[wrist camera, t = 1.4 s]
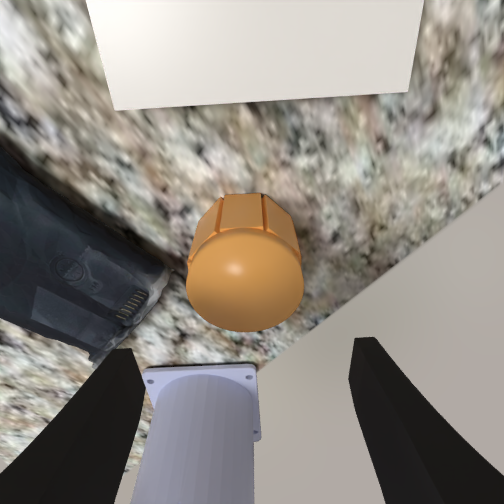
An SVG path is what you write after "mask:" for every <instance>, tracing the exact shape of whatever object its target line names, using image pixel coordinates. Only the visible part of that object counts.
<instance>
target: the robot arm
mask: <svg viewBox="0 0 504 504" xmlns="http://www.w3.org/2000/svg"><path fill="white" fill-rule="evenodd" d="M142 378H143V379H142ZM348 380H349V384H350V389H351V394H352V398H353V403H354V407H355V411H356V414H357V418H358V421H359V424H360V427H361V430H362V433H363V436H364V438H365V442H366V445H367V447H368V451H369V454H370V457H371V460H372V463H373V466H374V469H375V472H376V475H377V478H378V481H379V484H380V487H381V490H382V493H383V496H384V500H385V503H386V504H504V476H503V475H502V474H501V473H500V472H499V471H498V470H497V469H495V468H494V467H493V466H492V465H491V464H490V463H489V462H488V461H487V460H486V459H484V457H482V456H481V455H480V454H479V453H478V452H477V451H476V450H475V449H474V448H473V447H472V446H471V445H470V444H469V443H468V442H467V441H465V439H464V438H463V437H462V436H461V435H460V434H459V433H458V432H456V430H454V428H453V427H452V426H451V425H450V424H449V423H448V422H447V421H446V420H445V419H444V418H443V417H442V416H441V415H440V414H439V413H438V412H437V411H436V409H434V407H433V406H432V405H431V404H430V403H429V402H428V401H427V400H426V398H425V397H424V396H423V395H422V394H421V393H420V392H419V390H418V389H417V388H416V387H415V386H414V385H413V384H412V383H411V381H410V380H409V379H408V378H407V377H406V375H405V374H404V373H403V372H402V371H401V370H400V368H399V367H398V366H397V365H396V363H395V362H394V361H393V360H392V358H391V357H390V356H389V355H388V353H387V352H386V351H385V349H384V348H383V347H382V346H381V344H380V343H379V342H378V340H377V339H376V338H375V337H363V338H355V339H354V346H353V352H352V358H351V365H350V371H349V378H348ZM144 383H145V384H144ZM145 386H146V387H145ZM145 389H147V392H148V394H149V397H150V400H151V402H152V405H153V408H154V413H153V417H152V420H151V424H150V428H149V432H148V436H147V440H146V444H145V448H144V452H143V456H142V460H141V464H140V468H139V472H138V476H137V480H136V483H135V487H134V491H133V495H132V499H131V503H130V504H254V446H253V445H254V443H253V442H256V441H259V440H260V439H261V426H260V414H259V401H258V388H257V375H256V367H255V366H254V365H252V364H232V365H210V366H188V367H165V368H148V369H145V370H144V371H143V373H142V376H141V373H140V371H139V368H138V365H137V362H136V360H135V357H134V354H133V352H132V349H131V348H126V349H112V350H111V351H110V353H109V354H108V355H107V356H106V357H105V359H104V360H103V361H102V362H101V363H100V365H99V366H98V367H97V368H96V370H95V371H94V372H93V373H92V374H91V376H90V377H89V378H88V379H87V380H86V382H85V383H84V384H83V385H82V386H81V388H80V389H79V390H78V391H77V392H76V393H75V395H74V396H73V397H72V398H71V399H70V400H69V402H68V403H67V404H66V405H65V406H64V407H63V409H62V410H61V411H60V412H59V413H58V414H57V415H56V417H55V418H54V419H53V420H52V421H51V422H50V423H49V424H48V425H47V426H46V427H45V428H44V430H43V431H42V432H41V433H40V434H39V435H38V436H37V437H36V438H35V439H34V440H33V441H32V442H31V443H30V445H29V446H28V447H27V448H26V449H25V450H24V451H23V452H22V453H21V454H20V455H19V456H18V457H17V458H16V459H15V460H14V461H13V462H12V463H11V464H10V465H9V466H8V467H7V468H6V469H5V470H3V472H1V473H0V504H114V502H115V498H116V495H117V492H118V488H119V485H120V482H121V479H122V476H123V473H124V469H125V466H126V463H127V460H128V457H129V453H130V450H131V447H132V444H133V441H134V437H135V434H136V431H137V427H138V424H139V421H140V416H141V411H142V406H143V401H144V395H145Z"/></svg>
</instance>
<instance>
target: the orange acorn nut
mask: <svg viewBox="0 0 504 504" xmlns="http://www.w3.org/2000/svg"><path fill="white" fill-rule="evenodd" d="M187 265H188V270H189V272H188V276H187V281H186V290H187V295H188V299H189V301H190V303H191V305H192V307H193V308H194V310H195V311H196V312H197V313H198V314H199V315H200V316H201V317H202V318H203V319H205V320H206V321H208V322H209V323H211V324H213V325H215V326H217V327H219V328H222V329H226V330H229V331H235V332H256V331H261V330H265V329H269V328H271V327H274V326H276V325H278V324H280V323H282V322H283V321H284V320H286V319H287V318H288V317H290V316H291V315H292V314H293V313H294V311H295V310H296V309H297V307H298V306H299V304H300V302H301V300H302V297H303V293H304V280H303V275H302V271H301V253H300V249H299V245H298V240H297V236H296V232H295V228H294V224H293V220H292V219H291V216H290V215H289V214H288V213H287V212H285V211H284V210H283V209H282V208H281V207H279V206H278V205H277V204H276V203H275V202H274V201H272V200H271V199H270V198H269V197H268V196H266V195H264V196H263V197H262V198H261V193H252V194H234V195H225V196H224V200H223V199H222V198H221V197H220V198H219V199H218V200H217V201H216V202H215V204H214V205H213V206H212V207H211V208H210V209H209V210H208V211H207V212H206V214H205V215H204V216H203V217H202V218H201V219H200V220H199V222H198V225H197V229H196V232H195V236H194V240H193V243H192V247H191V250H190V254H189V258H188V261H187Z"/></svg>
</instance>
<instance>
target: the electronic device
mask: <svg viewBox="0 0 504 504" xmlns="http://www.w3.org/2000/svg"><path fill="white" fill-rule="evenodd" d="M172 271H174V269H171V268H169V267H168V266H166V265H164V264H163V263H162V262H161V261H160V260H159V259H157V258H155V257H154V256H152V255H150V254H149V253H147V252H146V251H144V250H142V249H141V248H139V247H138V246H136V245H135V244H133V243H132V242H130V241H129V240H127V239H126V238H124V237H123V236H121V235H120V234H118V233H117V232H116V231H114V230H113V229H111V228H109V227H108V226H106V225H105V224H104V223H102V222H101V221H99V220H97V219H96V218H95V217H93V216H92V215H91V214H90V213H88V212H87V211H85V210H83V209H82V208H80V207H78V206H76V205H74V204H72V203H71V202H70V201H69V200H68V199H67V198H65V197H64V196H62V195H61V194H59V193H57V192H56V191H54V190H53V189H51V188H50V187H48V186H45V185H44V184H43V183H41V182H40V181H39V180H38V179H36V178H35V177H34V176H32V175H31V174H29V173H27V172H26V171H25V170H23V169H22V168H21V166H20V165H19V164H18V162H17V161H16V160H14V159H13V158H12V157H11V156H10V155H9V154H8V153H7V152H6V151H5V150H4V149H3V148H2V147H1V146H0V318H1V319H3V320H6V321H8V322H11V323H13V324H16V325H18V326H20V327H23V328H25V329H28V330H31V331H33V332H35V333H38V334H40V335H42V336H44V337H46V338H50V339H55V340H58V341H61V342H63V343H66V344H68V345H72V346H76V347H78V348H80V349H83V350H85V351H87V352H89V354H90V356H89V358H88V359H89V361H91V362H93V366H92V367H93V368H94V369H96V368H97V367H98V366H99V365H100V363H101V362H102V361H103V360H104V359H105V357H106V356H107V355H108V354H109V353H110V351H111V350H112V349H116V348H117V347H118V346H119V345H120V343H121V342H122V341H123V340H124V339H125V338H126V337H127V336H128V335H129V334H130V333H131V332H132V331H133V329H134V328H135V327H136V326H137V325H138V324H139V323H140V322H141V321H142V319H143V318H144V317H145V316H146V315H147V314H148V312H149V311H150V310H151V309H152V307H153V306H154V305H155V304H156V302H157V301H158V299H159V298H160V296H161V290H162V289H163V288H164V287H165V286H166V285H167V284H168V281H169V278H170V274H171V272H172Z"/></svg>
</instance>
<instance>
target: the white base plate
mask: <svg viewBox="0 0 504 504" xmlns="http://www.w3.org/2000/svg"><path fill="white" fill-rule="evenodd" d="M86 3H87V6H88V10H89V14H90V18H91V22H92V26H93V29H94V33H95V37H96V41H97V45H98V49H99V52H100V56H101V60H102V64H103V68H104V72H105V75H106V79H107V83H108V87H109V91H110V95H111V98H112V102H113V106H114V110H131V109H147V108H163V107H178V106H194V105H210V104H225V103H241V102H257V101H273V100H288V99H304V98H320V97H335V96H351V95H367V94H383V93H398V92H408V88H409V83H410V77H411V71H412V66H413V60H414V54H415V49H416V43H417V37H418V32H419V26H420V20H421V15H422V9H423V3H424V0H86Z"/></svg>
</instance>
